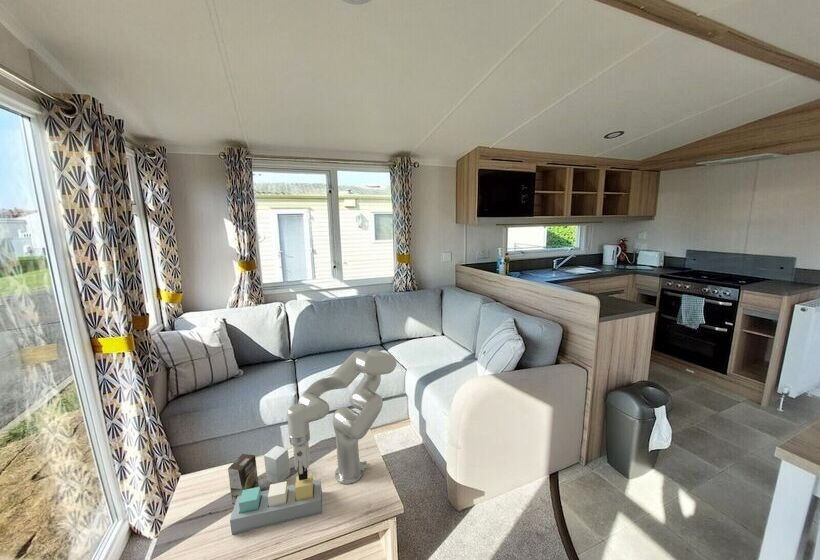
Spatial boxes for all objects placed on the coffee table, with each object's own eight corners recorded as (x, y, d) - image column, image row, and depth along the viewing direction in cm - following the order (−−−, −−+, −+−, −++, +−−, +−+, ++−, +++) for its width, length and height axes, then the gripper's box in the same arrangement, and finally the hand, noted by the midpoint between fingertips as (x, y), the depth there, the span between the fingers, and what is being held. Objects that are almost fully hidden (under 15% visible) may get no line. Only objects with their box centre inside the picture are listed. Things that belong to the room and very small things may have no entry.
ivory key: (288, 496, 132) (286, 481, 131) (286, 509, 126) (285, 493, 125) (272, 499, 130) (270, 484, 129) (269, 512, 125) (267, 497, 123)
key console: (321, 491, 138) (320, 478, 137) (321, 513, 127) (320, 500, 126) (239, 509, 130) (237, 496, 129) (231, 534, 120) (229, 520, 119)
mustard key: (313, 487, 134) (312, 472, 133) (313, 499, 128) (311, 484, 127) (297, 491, 133) (296, 476, 131) (296, 503, 127) (295, 487, 126)
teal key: (261, 502, 130) (259, 486, 128) (258, 515, 124) (256, 499, 122) (244, 505, 128) (242, 490, 127) (241, 519, 122) (238, 503, 121)
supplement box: (291, 473, 149) (288, 449, 146) (278, 485, 142) (275, 459, 140) (279, 469, 152) (276, 444, 149) (266, 480, 145) (263, 455, 143)
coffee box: (245, 505, 132) (240, 470, 129) (231, 503, 133) (226, 468, 131) (259, 487, 141) (255, 454, 138) (246, 485, 142) (242, 452, 139)
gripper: (308, 447, 120) (312, 490, 123) (310, 423, 134) (313, 463, 137) (287, 451, 118) (291, 495, 121) (291, 426, 132) (295, 466, 135)
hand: (303, 478), depth 129 cm, fingers closed
